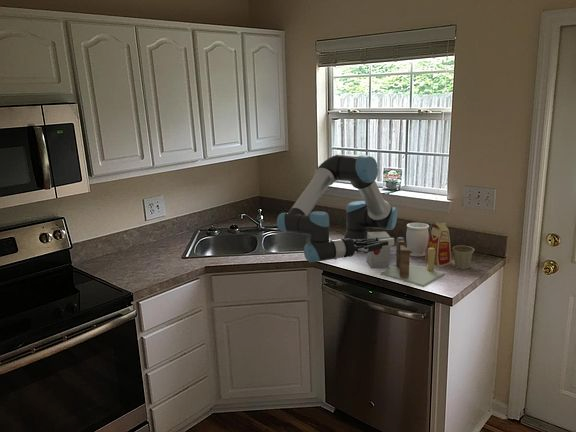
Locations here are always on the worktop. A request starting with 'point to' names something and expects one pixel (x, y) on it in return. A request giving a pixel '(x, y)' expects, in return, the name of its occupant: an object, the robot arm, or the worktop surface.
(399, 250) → the gate
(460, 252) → the flower pot
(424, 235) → the jar
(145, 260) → the worktop surface
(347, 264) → the worktop surface
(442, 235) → the milk carton
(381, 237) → the supplement box
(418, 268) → the gate frame
